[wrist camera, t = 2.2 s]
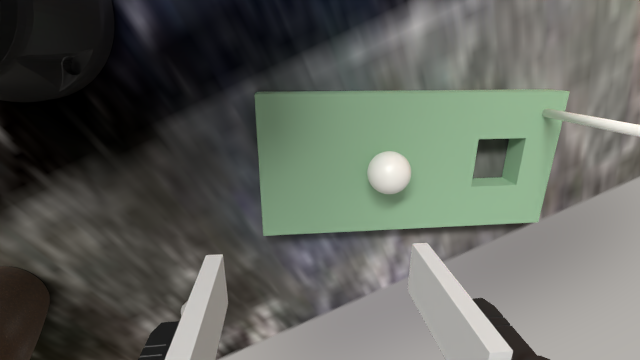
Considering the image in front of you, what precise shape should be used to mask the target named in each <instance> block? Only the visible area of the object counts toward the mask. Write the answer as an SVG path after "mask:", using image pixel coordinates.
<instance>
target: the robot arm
mask: <svg viewBox="0 0 640 360" xmlns="http://www.w3.org/2000/svg"><path fill="white" fill-rule="evenodd" d="M113 39H114V12H113V6H112V1H111V0H0V100H3V101H11V102H38V101H45V100H51V99H57V98H61V97H65V96H68V95H71V94H73V93H75V92H77V91H79V90H81V89H82V88H84V87H85V86H87V85H88V84H89V83H90V82H92V81H93V80H94V79H95V78H96V77H97V75H98V74H99V73H100V72H101V70H102V69H103V67H104V65H105V64H106V62H107V60H108V57H109V55H110V52H111V49H112V45H113ZM408 292H409V293H410V296H411V297H412V299H413V301H414V303H415V305H416V306H417V308H418V310H419V312H420V314H421V316H422V318H423V319H424V321H425V323H426V325H427V327H428V329H429V330H430V332H431V334H432V336H433V338H434V340H435V341H436V343H437V345H438V347H439V349H440V351H441V352H442V354H443V356H444V358H445V360H550V359H547V358H545V357H542V356H537V355H536V354H535V352H534V351H533V350H532V349H531V348H530V347H529V345H528V344H527V343H526V342H525V341H524V340H523V339H522V338H521V336H520V335H519V334H518V333H517V332H516V331H515V329H514V328H513V327H512V326H510V323H509V322H508V321H507V320H506V319H505V318H503V316H502V314H501V313H500V312H499V311H498V310H497V309H496V307H495V306H494V305H492V304H490V303H489V302H487V301H486V300H485V299H483V298H478V299H477V298H476V299H471V297H470V296H469V295H468V293H467V292H466V291H465V290H464V288H463V287H462V286H461V285H460V283H459V282H458V281H457V280H456V278H455V277H454V276H453V275H452V274H451V272H450V271H449V270H448V269H447V267H446V266H445V265H444V263H443V262H442V261H441V260H440V258H439V257H438V256H437V255H436V253H435V252H434V251H433V249H432V248H431V247H430V246H429V244H428V243H416V244H412V252H411V261H410V271H409V281H408ZM227 306H228V296H227V287H226V278H225V269H224V260H223V254H220V255H206V257H205V259H204V262H203V264H202V267H201V269H200V272H199V274H198V277H197V279H196V282H195V284H194V287H193V289H192V292H191V294H190V297H189V300H188V302H187V305H186V307H185V310H184V312H183V315H182V317H181V320H180V321H178V322H164V323H161V324H160V325H159V326H158V327H157V328H156V329H155V330H154V331H153V332H152V333H151V334H150V336H149V338H148V340H147V342H146V344H145V348H143V350H142V352H141V355H140V358H139V359H138V360H215V359H216V355H217V350H218V346H219V342H220V337H221V333H222V328H223V324H224V319H225V315H226V310H227Z"/></svg>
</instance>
